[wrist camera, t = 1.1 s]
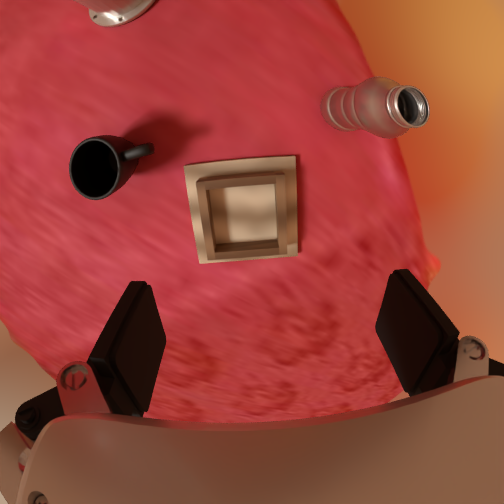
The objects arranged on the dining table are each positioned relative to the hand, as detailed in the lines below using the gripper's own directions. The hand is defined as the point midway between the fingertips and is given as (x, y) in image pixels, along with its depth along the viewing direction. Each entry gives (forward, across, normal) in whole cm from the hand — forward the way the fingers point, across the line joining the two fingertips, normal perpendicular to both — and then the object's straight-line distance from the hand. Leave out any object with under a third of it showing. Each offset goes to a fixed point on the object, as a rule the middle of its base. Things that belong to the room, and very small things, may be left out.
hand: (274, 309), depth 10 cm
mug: (+32, +18, -4) cm, 37 cm away
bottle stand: (+32, +2, +7) cm, 32 cm away
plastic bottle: (+32, -13, -9) cm, 36 cm away
